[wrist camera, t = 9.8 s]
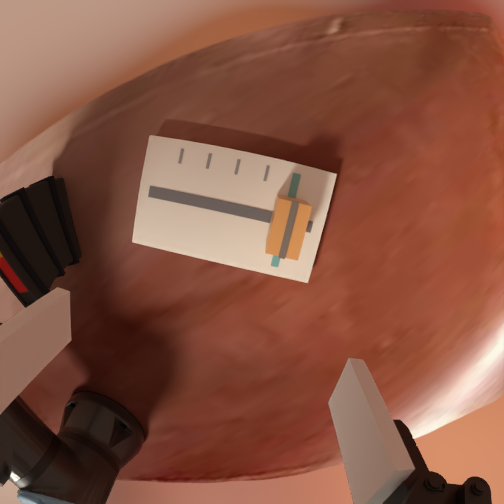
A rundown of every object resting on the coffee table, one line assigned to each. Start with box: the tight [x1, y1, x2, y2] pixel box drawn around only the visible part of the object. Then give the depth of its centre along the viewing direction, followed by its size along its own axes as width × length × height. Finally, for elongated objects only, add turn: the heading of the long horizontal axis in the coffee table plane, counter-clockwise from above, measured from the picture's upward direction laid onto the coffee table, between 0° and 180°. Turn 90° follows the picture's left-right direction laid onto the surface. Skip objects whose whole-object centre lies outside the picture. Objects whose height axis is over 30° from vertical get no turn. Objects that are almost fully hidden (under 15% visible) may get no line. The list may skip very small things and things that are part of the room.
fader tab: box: [265, 194, 312, 261], centre depth 30 cm, size 5×3×5 cm, turn 167°
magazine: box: [0, 176, 81, 307], centre depth 30 cm, size 4×13×15 cm, turn 11°
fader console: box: [132, 135, 337, 283], centre depth 33 cm, size 12×20×2 cm, turn 77°
